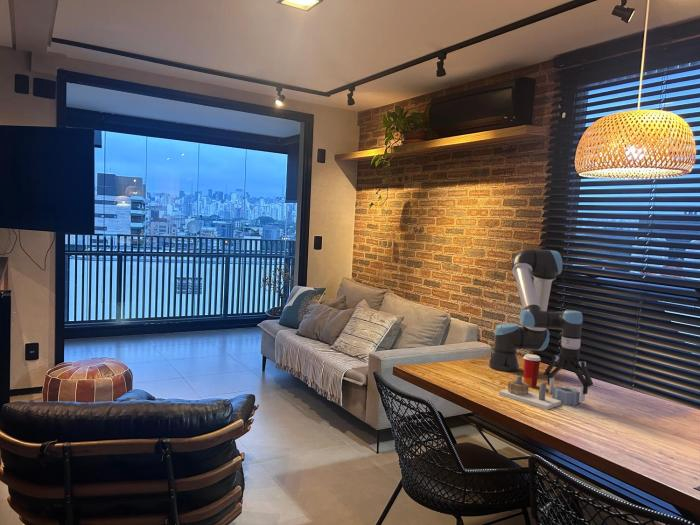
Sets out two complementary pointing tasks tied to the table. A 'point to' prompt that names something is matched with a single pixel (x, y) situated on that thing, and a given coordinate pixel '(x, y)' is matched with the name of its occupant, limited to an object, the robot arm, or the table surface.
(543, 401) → the gear board
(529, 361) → the paper cup
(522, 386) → the beech gear
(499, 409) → the table surface
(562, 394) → the gray gear
